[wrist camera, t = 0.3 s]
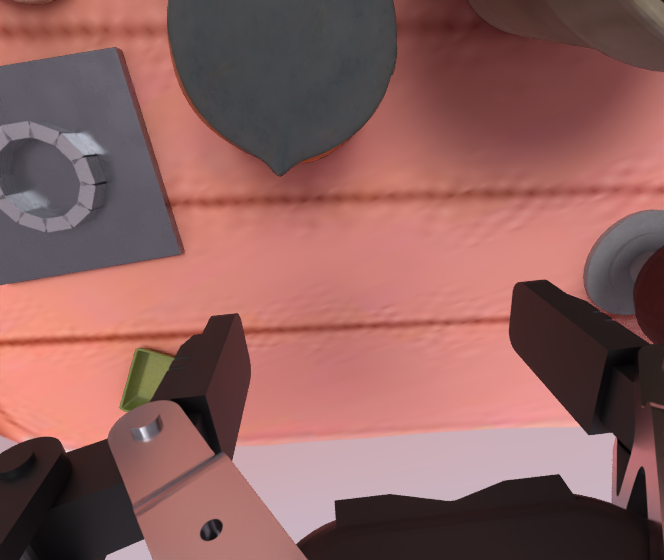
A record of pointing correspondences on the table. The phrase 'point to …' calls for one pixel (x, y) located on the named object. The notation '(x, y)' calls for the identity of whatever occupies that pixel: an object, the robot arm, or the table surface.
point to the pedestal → (33, 1)
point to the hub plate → (77, 170)
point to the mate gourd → (630, 271)
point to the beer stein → (283, 71)
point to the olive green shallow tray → (144, 377)
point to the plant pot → (586, 25)
